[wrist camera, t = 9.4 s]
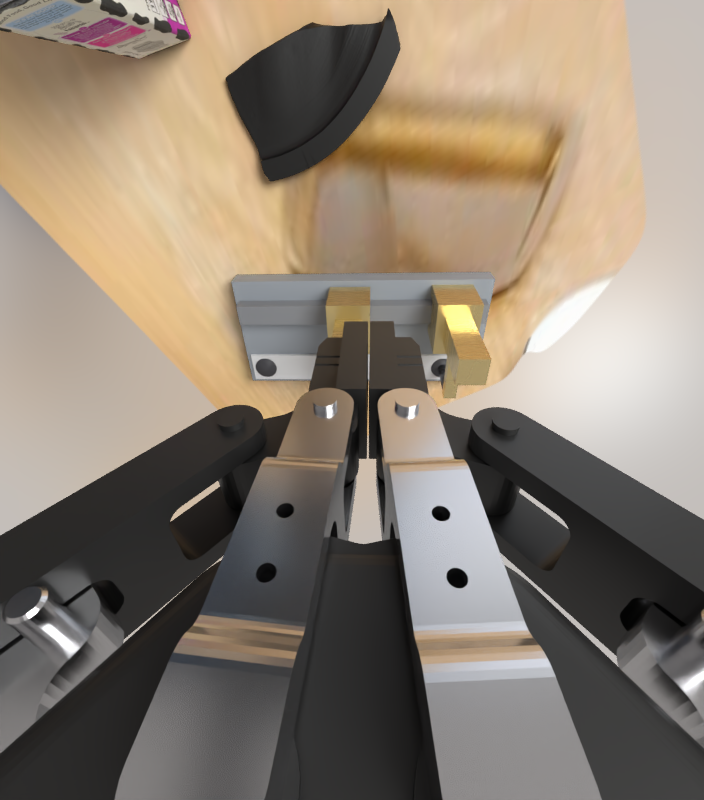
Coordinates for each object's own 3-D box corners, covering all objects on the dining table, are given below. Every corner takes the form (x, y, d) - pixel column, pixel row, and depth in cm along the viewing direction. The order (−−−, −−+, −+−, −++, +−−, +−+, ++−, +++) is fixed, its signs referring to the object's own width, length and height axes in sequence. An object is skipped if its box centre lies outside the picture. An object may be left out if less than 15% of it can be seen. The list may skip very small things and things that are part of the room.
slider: (329, 287, 39) (316, 344, 30) (370, 286, 38) (369, 344, 29) (335, 371, 45) (325, 440, 36) (370, 371, 45) (369, 441, 36)
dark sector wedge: (417, 115, 32) (419, 116, 31) (274, 183, 36) (270, 186, 35) (385, -20, 28) (385, -26, 26) (223, 73, 31) (217, 72, 30)
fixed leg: (432, 284, 38) (450, 344, 29) (473, 284, 38) (505, 344, 29) (423, 370, 45) (436, 441, 35) (458, 370, 44) (481, 442, 35)
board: (236, 274, 41) (226, 287, 38) (490, 272, 39) (498, 285, 37) (257, 371, 48) (249, 387, 45) (471, 371, 47) (477, 388, 44)
